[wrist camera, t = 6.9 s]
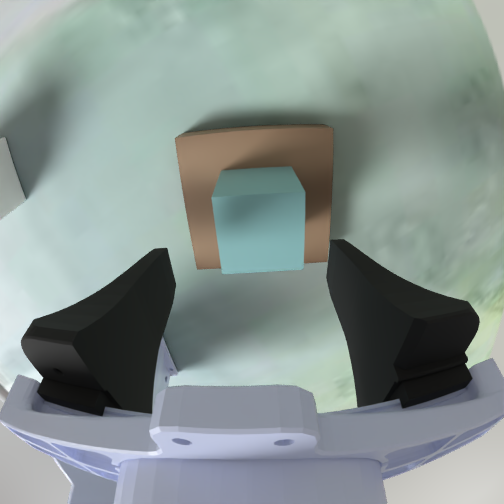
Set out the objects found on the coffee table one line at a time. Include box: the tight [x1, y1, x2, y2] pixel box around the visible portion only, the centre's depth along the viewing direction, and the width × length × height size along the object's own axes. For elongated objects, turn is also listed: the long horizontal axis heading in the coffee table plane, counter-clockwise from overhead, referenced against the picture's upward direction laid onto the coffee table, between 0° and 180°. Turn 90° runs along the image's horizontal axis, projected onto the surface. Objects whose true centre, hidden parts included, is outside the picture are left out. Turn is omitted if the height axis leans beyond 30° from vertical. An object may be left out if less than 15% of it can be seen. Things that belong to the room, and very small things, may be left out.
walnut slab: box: [175, 124, 333, 269], centre depth 20 cm, size 10×10×3 cm
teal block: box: [211, 166, 305, 274], centre depth 17 cm, size 4×4×5 cm
